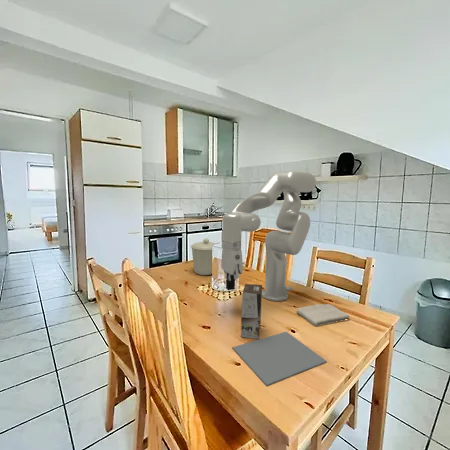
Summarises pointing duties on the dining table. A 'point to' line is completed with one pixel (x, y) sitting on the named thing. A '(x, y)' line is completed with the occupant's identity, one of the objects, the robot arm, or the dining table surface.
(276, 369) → the mat
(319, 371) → the dining table surface
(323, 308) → the washcloth
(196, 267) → the canister
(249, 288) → the coffee box
